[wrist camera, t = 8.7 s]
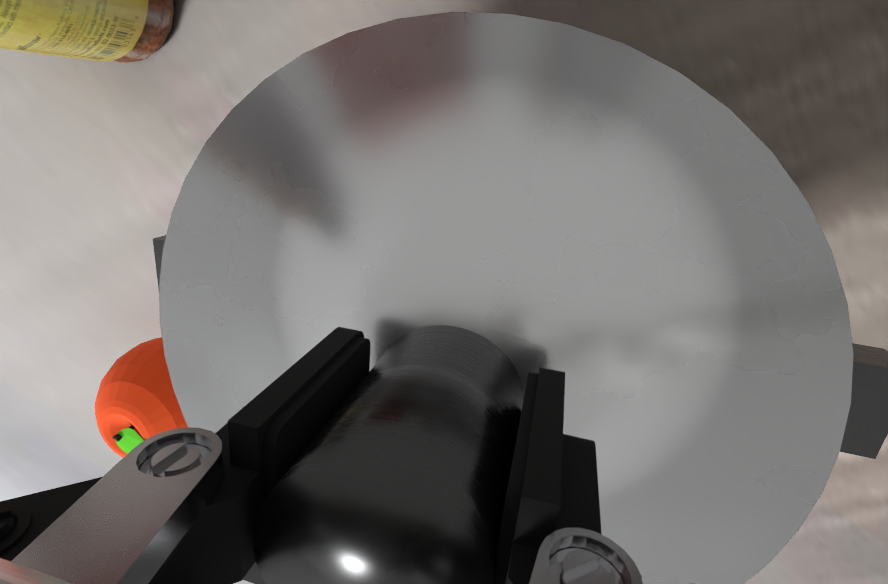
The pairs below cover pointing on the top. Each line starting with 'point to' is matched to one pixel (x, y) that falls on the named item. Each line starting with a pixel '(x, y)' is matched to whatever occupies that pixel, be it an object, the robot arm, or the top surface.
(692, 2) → the top surface
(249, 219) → the lid
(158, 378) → the clementine
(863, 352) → the pot
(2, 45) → the sauce bottle
